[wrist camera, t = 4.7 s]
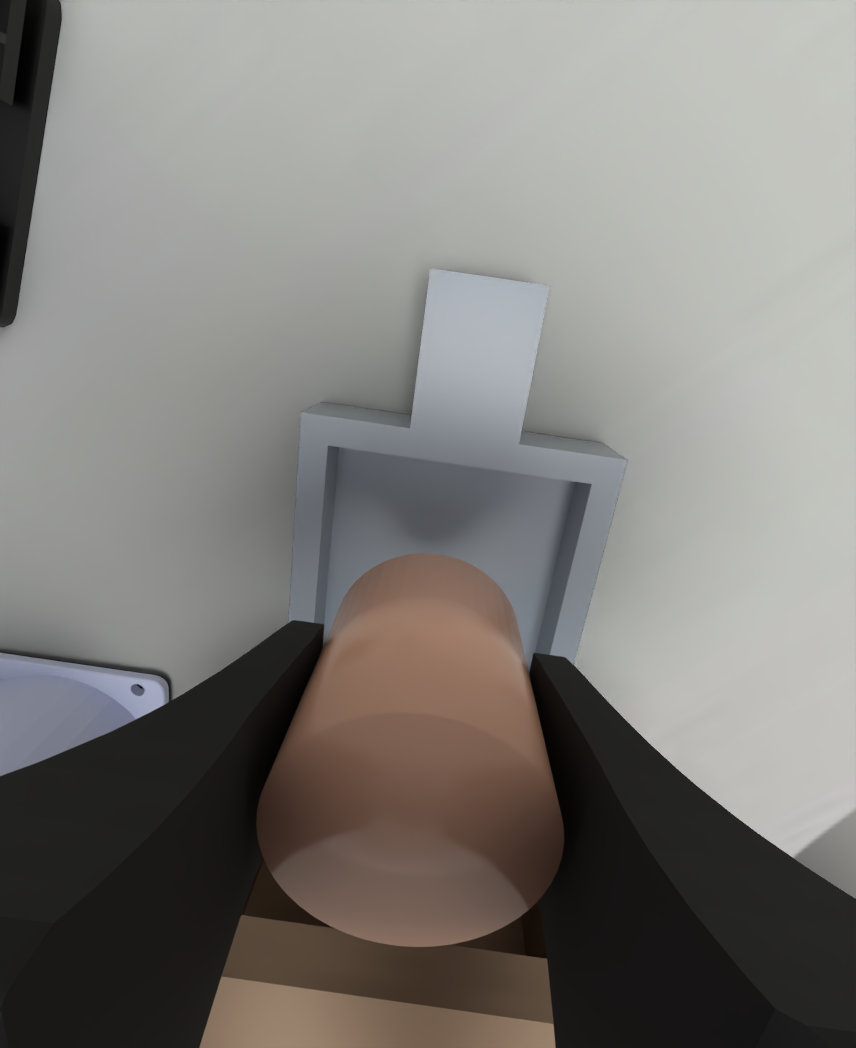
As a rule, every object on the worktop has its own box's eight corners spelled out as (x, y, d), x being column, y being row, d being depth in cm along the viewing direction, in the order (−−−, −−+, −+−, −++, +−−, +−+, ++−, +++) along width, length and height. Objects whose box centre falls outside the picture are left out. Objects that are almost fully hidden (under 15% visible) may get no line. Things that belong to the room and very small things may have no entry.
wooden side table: (245, 856, 24) (103, 1214, 14) (252, 662, 20) (71, 955, 11) (535, 898, 24) (591, 1283, 14) (588, 711, 20) (710, 1046, 11)
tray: (304, 647, 20) (284, 688, 18) (331, 263, 16) (310, 250, 13) (544, 681, 20) (556, 727, 18) (637, 308, 16) (669, 303, 13)
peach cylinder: (331, 705, 12) (258, 931, 8) (338, 543, 11) (253, 696, 6) (505, 723, 12) (537, 961, 8) (531, 563, 11) (591, 730, 6)
